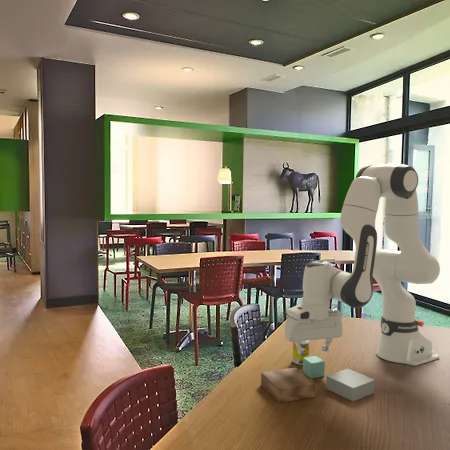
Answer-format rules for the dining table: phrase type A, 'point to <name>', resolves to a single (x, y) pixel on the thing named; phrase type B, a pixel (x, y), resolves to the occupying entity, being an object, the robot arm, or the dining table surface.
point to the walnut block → (288, 384)
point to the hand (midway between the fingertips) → (313, 352)
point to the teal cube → (313, 366)
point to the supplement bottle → (299, 357)
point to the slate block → (350, 384)
